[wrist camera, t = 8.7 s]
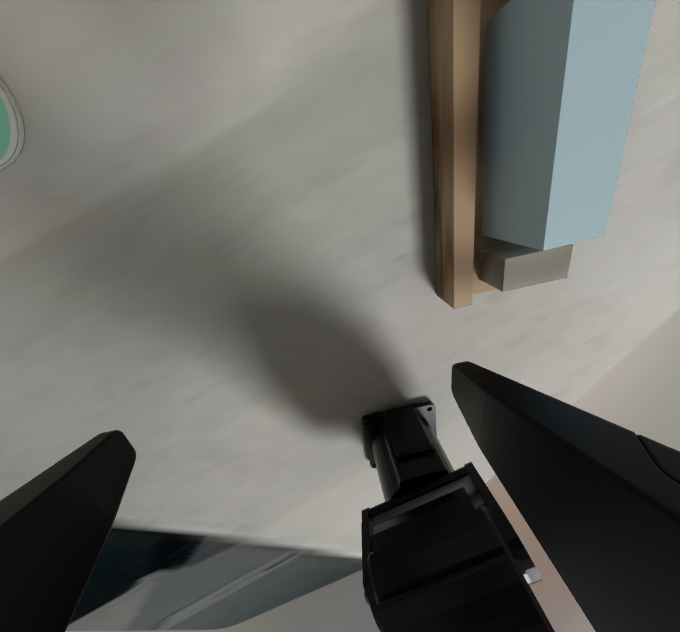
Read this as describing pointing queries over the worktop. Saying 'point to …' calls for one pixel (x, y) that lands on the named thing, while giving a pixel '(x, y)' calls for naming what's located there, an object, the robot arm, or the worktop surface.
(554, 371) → the worktop surface
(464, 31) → the rail
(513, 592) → the robot arm
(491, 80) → the door panel
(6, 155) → the spray can
